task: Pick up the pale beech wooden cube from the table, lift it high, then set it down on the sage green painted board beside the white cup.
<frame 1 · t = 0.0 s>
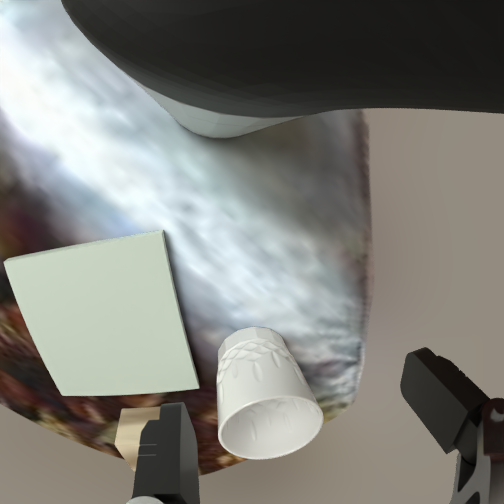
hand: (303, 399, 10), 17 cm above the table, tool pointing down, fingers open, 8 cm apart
white cup: (251, 353, 30), on the table
sage board: (100, 326, 26), on the table
beech cube: (151, 422, 31), on the table
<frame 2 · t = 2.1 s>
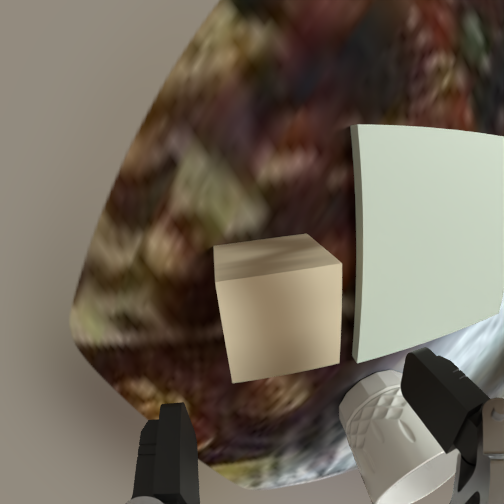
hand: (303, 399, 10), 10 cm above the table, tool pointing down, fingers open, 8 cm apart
white cup: (372, 397, 24), on the table
sage board: (447, 239, 20), on the table
beech cube: (264, 282, 19), on the table
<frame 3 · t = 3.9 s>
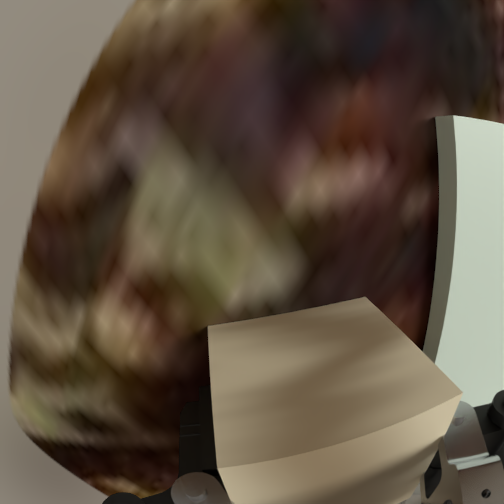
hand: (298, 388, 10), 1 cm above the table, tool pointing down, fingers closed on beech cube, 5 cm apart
beech cube: (294, 374, 11), on the table, touching gripper
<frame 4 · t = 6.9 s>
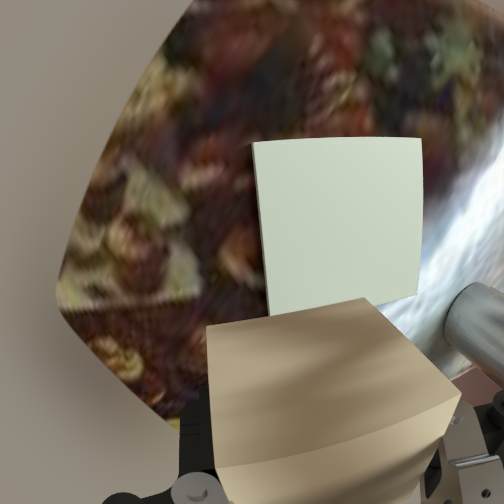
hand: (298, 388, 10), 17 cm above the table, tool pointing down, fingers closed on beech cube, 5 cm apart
sage board: (348, 227, 27), on the table
beech cube: (293, 375, 11), point 16 cm above the table, touching gripper
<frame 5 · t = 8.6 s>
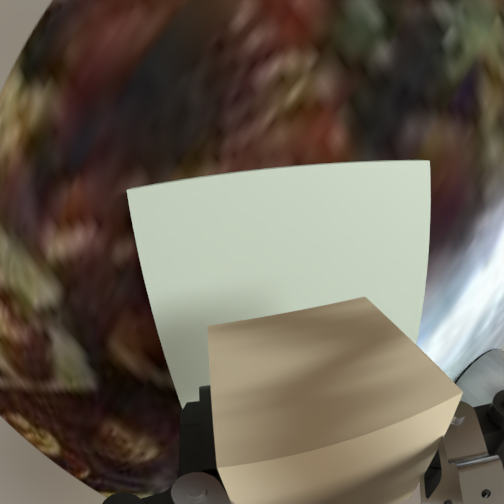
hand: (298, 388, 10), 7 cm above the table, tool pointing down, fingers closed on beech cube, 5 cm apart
sage board: (301, 309, 18), on the table
beech cube: (294, 374, 11), point 6 cm above the table, touching gripper
when the fingers open (3 cm above the table, at t = 9.9 s): beech cube drops 1 cm, resting on sage board.
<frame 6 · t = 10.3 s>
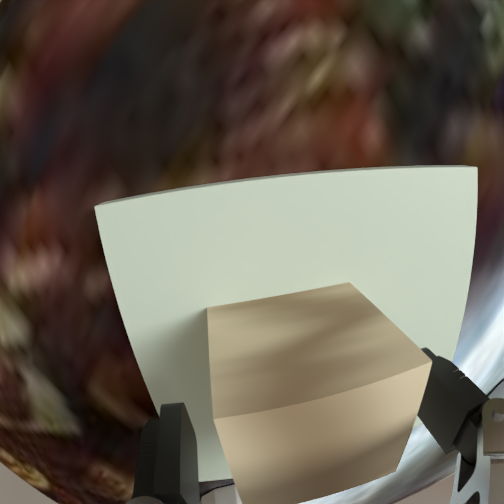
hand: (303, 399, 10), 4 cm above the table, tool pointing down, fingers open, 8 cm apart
white cup: (244, 499, 18), on the table
sage board: (322, 350, 14), on the table
beech cube: (286, 354, 12), point 1 cm above the table, touching sage board
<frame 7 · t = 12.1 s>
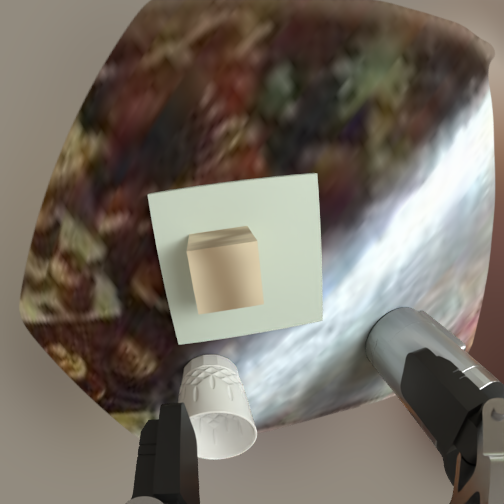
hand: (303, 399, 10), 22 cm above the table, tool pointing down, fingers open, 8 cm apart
white cup: (210, 374, 35), on the table
sage board: (242, 261, 32), on the table
beech cube: (222, 257, 30), point 1 cm above the table, touching sage board
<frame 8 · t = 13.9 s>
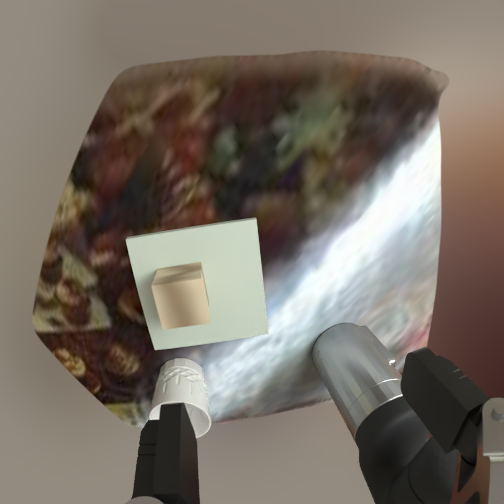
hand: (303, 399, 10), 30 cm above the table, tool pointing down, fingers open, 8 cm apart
white cup: (182, 373, 44), on the table
sage board: (200, 287, 40), on the table
beech cube: (183, 285, 39), point 1 cm above the table, touching sage board
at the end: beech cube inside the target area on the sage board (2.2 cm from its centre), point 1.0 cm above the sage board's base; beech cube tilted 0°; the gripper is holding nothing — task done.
